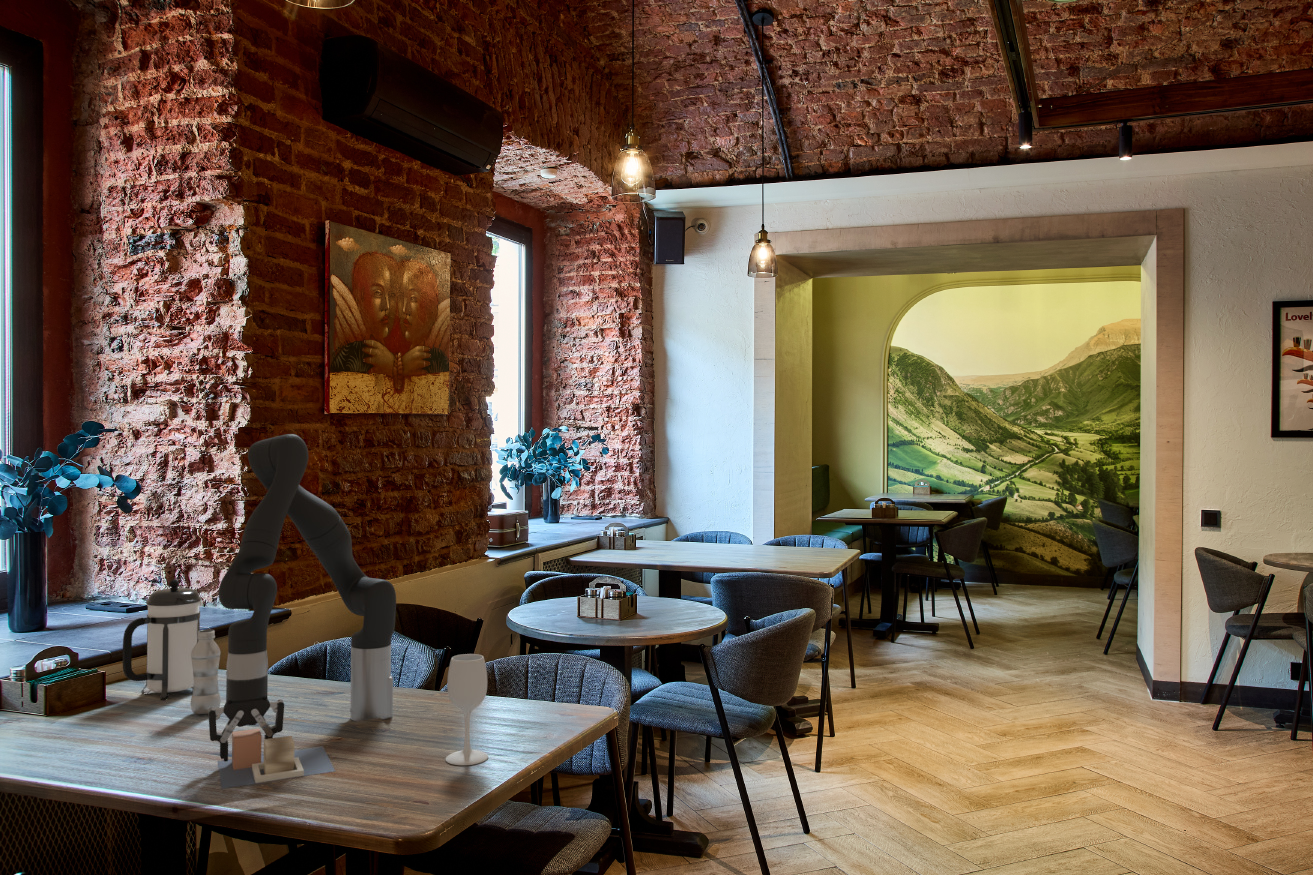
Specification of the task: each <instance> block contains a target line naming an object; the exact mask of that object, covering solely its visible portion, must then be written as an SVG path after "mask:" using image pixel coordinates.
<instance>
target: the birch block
mask: <svg viewBox="0 0 1313 875" xmlns="http://www.w3.org/2000/svg"><path fill="white" fill-rule="evenodd" d="M294 750H295V742H294V739H293V735H287V736H281V737H280V736H279V737H273V738H270V739H263V755H264V774H272V773H278V772H285V771H292V770H294Z"/></svg>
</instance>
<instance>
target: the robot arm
mask: <svg viewBox="0 0 1313 875" xmlns="http://www.w3.org/2000/svg"><path fill="white" fill-rule="evenodd" d="M308 450H309V449H308V446H307V444H306V442H305V441H304V439H303V438H301V437H300V436H299V435H297V434H294V433H287V434H282V435H278V436H273V437H269V438H266V439H262V440H259V441H256V442H254V443H252V444H251V445H250V447H249V449H248V451H247V453H248V454H247V459H248V463H249V465H250V466H249V467H250V469H251V470H252V472H253V474H254V475H255V477H256V478H257V479H258V480H259V481H260V483H261V484H262V485H263V487H264V488H265V489H266V490H267V492H266V494H265V495H264V496H263V498H262V499H261V501H260V502H259V504H257V506H256V507H255V509H254V510H253V512H252V513H251V515H249V518H248V520H247V522H246V525H245V527H244V530H243V533H242V538H241V541H240V542H241V543H240V545H239V549H238V552H237V554H236V556H235V557H234V559H233V561H232V562H231V565H230V566H229V567H228V569H227V570H226V572H225V574H224V576H223V577H222V580H221V581H220V585H219V588H218V600H219V602H220V604H221V606H223V607H224V608H226V609H229V610H253V613H252V615H251V617H249V618H247V619H242V620H237V621H235V622H233V623H231V624H230V626H229V628H228V631H227V632H228V633H227V634H228V635H227V636H228V639H227V641H228V642H227V643H228V644H227V647H228V648H227V651H228V652H227V659H226V660H227V661H226V671H225V675H226V676H225V677H226V681H225V682H226V685H225V686H226V688H225V692H226V694H225V697H226V698H225V704H224V705H223V707H221V706H220V707H219V708H210V709H209V711H208V712H209V714H208V727H209V728H208V730H209V732H208V733H209V740H210V741H211V742H219V757H220V759H221V760H224V762H225V761H228V760H229V740H228V739H229V738H230V736H231V735H232V732H234V731H235V729H236V727H238V728H240V727H241V728H242V727H246V726H256V725H257V724H258V726H260V728H261V730H262V731H263V732H264V739H270V738H274V735H276V734H278V733H281V732H283V729H284V715H285V703H284V700H283V699H278V700H277V701H270V700H269V699H268V698H269V697H268V690H269V689H268V682H269V681H268V677H269V676H268V675H269V674H268V673H269V663H268V661H269V660H268V652H267V647H268V646H267V642H268V641H267V640H268V638H267V636H268V626H269V621H270V617H271V613H272V610H273V606H274V604H275V602H276V599H277V598H276V597H277V593H278V585H277V582H276V580H275V578H274V577H273V575H271V574H269V573H260V572H258V573H253V572H254V571H256V570H261V569H263V568H267V567H269V566H271V565H272V564H273V563H274V562H275V559H276V555H277V551H278V548H279V543H280V539H281V534H282V530H283V527H284V523H285V520H286V516H288V517H289V519H290V520H291V522H292V523H293V524H294V526H295V527H296V529H297V530H298V532H299V533H300V535H301V536H302V539H303V540H304V541H305V543H306V544H307V545H308V547H309V548H310V549H311V551H312V553H313V554H314V555H315V557H316V558H317V559H318V561H319V562H320V564H321V565H322V567H323V569H324V570H325V571H326V573H327V575H329V578H330V579H331V580H332V582H333V584H334V587H335V588H336V590H337V592H338V594H339V596H340V598H341V600H342V602H343V604H344V605H345V607H346V608H347V610H349V612H351V614H354V615H357V616H360V617H363V620H362V621H363V622H362V628H361V629H360V630H358V631H356V632H354V633H352V635H351V638H350V639H351V640H350V647H351V648H350V710H349V711H350V720H351V721H353V722H362V721H369V720H375V719H381V720H386V719H389V718H393V717H394V716H393V712H394V711H393V710H394V708H393V707H394V706H393V705H394V702H393V700H394V695H393V694H394V678H393V676H392V637H393V635H394V632H395V628H396V613H397V612H396V611H397V610H396V609H397V594H396V593H397V592H396V590H395V587H394V585H393V583H392V582H390V581H388V580H386V579H381V578H373V577H369V576H367V575H366V574H365V573H364V572H363V571H362V569H361V568H360V566H359V564H357V562H356V560H355V558H354V555H353V545H352V544H353V541H352V535H351V533H350V530H349V529H348V527H347V524H346V523H345V522H344V520H343V519H342V517H341V516H340V514H339V512H338V511H337V510H336V509H335V508H334V507H333V506H332V505H331V504H329V503H327V501H325V500H323V499H322V498H319V497H318V496H316V495H315V494H313V493H311V492H310V491H308V490H306V489H305V488H304V487H303V486H302V485H300V484H301V481H302V478H303V477H304V475H305V472H306V469H307V467H308V462H309V451H308ZM270 708H271V709H272V712H273V713H275V721H274V722H275V723H274V725H273V726H271V725H270V724H269V723H268V722H267V720H266V719H265V717H264V716H265V715H266V714H267V712H268V711H269V710H270ZM223 714H224V715H225V716H226V717H227V718H228V721H227V722H226V724H225V727H224V728H223V729H222V732H220V733H219V732H217V730H218V729H217V721H218V720H220V719H221V716H222V715H223ZM264 739H263V740H264Z"/></svg>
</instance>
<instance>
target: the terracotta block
mask: <svg viewBox="0 0 1313 875" xmlns="http://www.w3.org/2000/svg"><path fill="white" fill-rule="evenodd" d="M231 737H232V738H231V745H232V746H231V759H232V765H233V770H236V769H243V768H250V767H252V764H256V763H261V755H262V738H263V737H262V733H261V729H260V728H254V729H245V730H239V731H233V732H232V733H231Z"/></svg>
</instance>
